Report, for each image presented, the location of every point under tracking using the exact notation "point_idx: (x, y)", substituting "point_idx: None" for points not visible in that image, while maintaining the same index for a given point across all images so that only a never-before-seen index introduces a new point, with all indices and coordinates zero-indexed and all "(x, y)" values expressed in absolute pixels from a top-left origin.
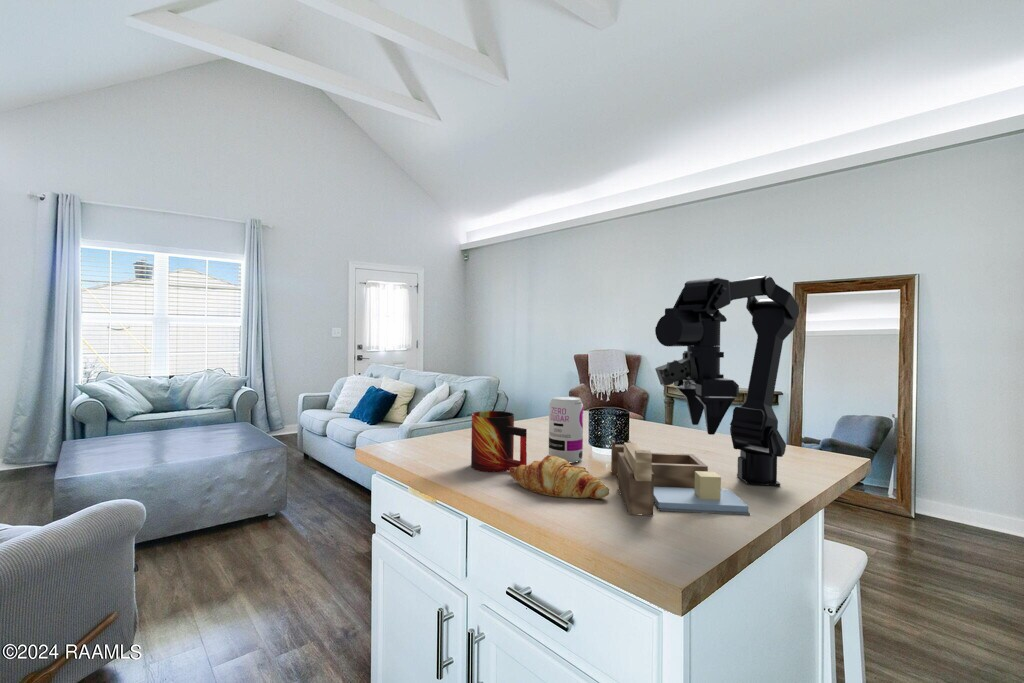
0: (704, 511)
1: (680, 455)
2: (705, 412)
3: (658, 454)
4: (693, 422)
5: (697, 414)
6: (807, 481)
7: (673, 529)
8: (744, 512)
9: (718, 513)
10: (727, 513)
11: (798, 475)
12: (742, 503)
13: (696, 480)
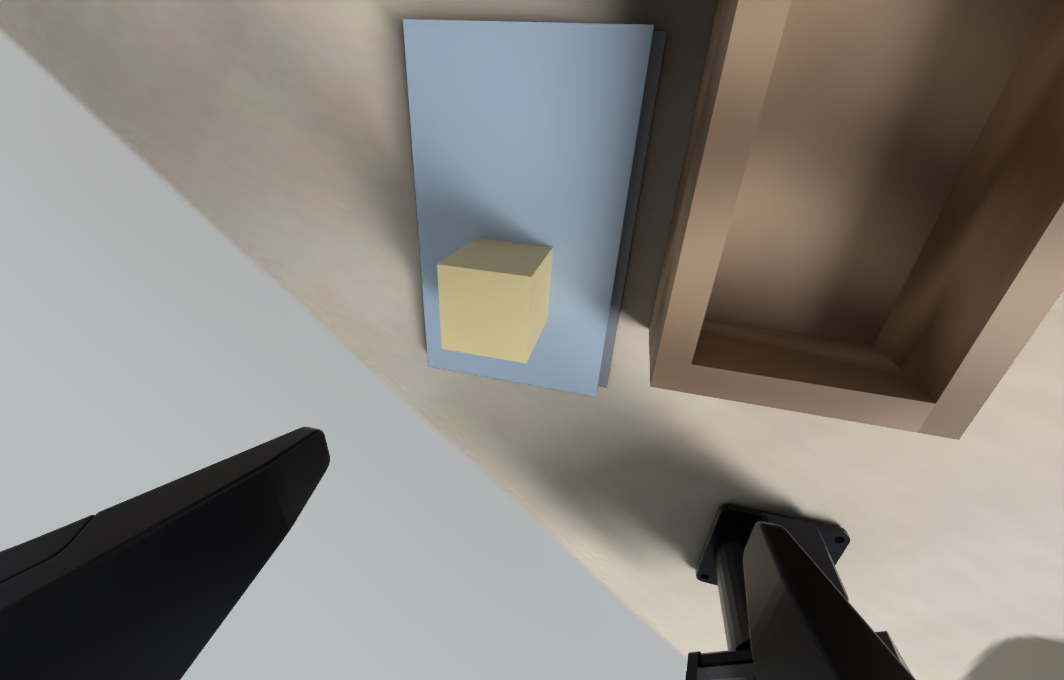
0: (417, 220)
1: (963, 355)
2: (42, 556)
3: (1062, 199)
4: (762, 544)
5: (778, 675)
6: None
7: (242, 37)
8: None
9: None
10: None
11: None
12: (450, 361)
13: (511, 261)
